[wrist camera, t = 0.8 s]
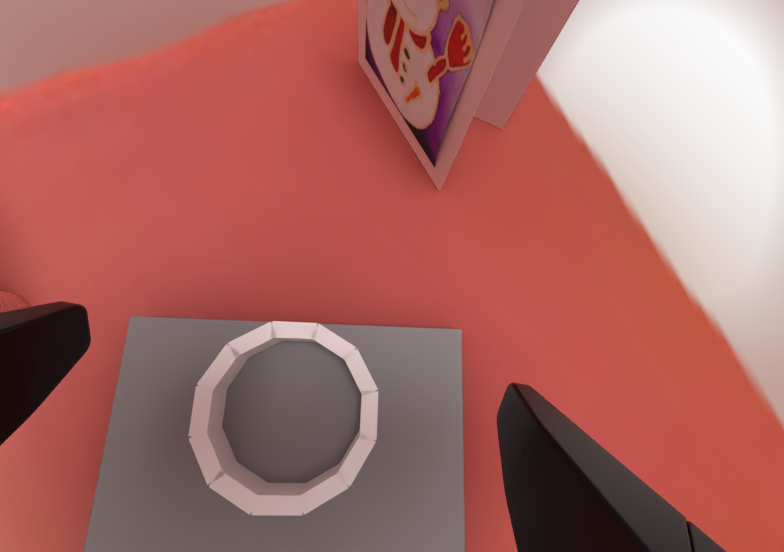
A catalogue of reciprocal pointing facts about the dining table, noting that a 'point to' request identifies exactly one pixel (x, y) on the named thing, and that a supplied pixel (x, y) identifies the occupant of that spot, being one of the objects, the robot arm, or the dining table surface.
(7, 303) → the chrome ball-end rod
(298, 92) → the dining table surface
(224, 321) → the duct flange
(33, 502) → the dining table surface
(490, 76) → the greeting card
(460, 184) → the dining table surface
